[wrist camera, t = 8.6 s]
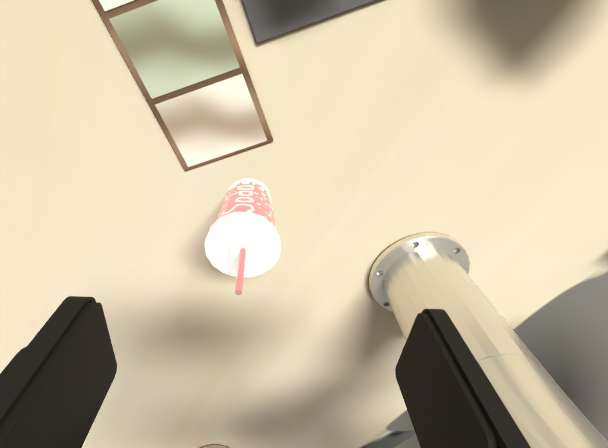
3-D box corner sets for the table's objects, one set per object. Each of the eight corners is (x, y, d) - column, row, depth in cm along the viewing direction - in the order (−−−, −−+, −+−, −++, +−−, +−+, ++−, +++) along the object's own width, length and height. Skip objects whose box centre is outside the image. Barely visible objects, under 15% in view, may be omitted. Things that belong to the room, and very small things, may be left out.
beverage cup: (283, 177, 33) (293, 263, 21) (272, 227, 36) (274, 327, 24) (222, 165, 32) (195, 249, 20) (215, 218, 34) (188, 319, 23)
